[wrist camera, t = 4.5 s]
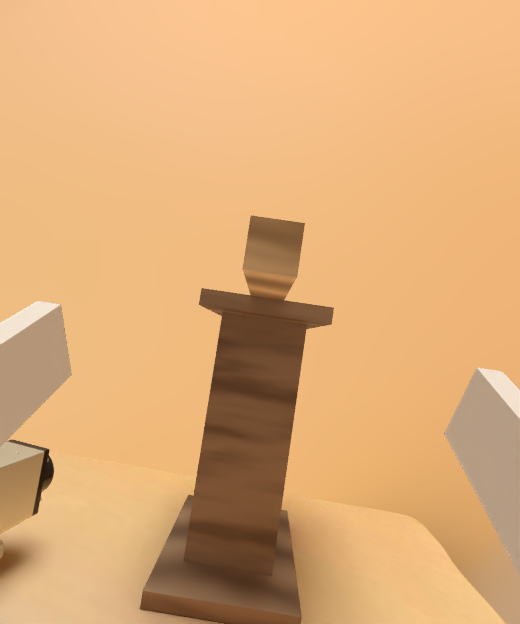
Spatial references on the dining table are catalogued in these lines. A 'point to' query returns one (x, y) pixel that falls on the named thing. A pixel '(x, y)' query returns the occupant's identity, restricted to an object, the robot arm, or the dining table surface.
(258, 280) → the brown streaked block
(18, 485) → the pneumatic valve
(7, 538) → the dining table surface
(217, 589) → the shelf stand
